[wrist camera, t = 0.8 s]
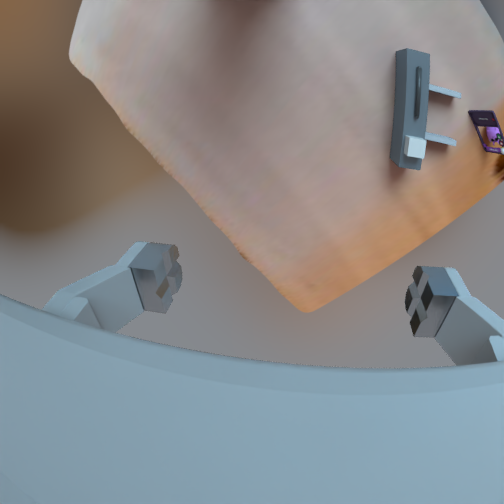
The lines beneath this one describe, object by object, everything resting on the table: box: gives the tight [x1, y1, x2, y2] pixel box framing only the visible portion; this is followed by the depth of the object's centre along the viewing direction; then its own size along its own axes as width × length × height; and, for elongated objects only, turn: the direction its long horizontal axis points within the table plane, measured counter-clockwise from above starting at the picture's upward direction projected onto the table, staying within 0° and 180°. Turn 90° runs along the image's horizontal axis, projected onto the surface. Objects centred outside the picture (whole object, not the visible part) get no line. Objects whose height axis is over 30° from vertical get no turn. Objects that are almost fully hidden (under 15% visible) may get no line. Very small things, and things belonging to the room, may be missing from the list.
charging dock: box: [390, 48, 461, 170], centre depth 37 cm, size 20×12×8 cm, turn 1°
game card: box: [468, 110, 504, 155], centre depth 35 cm, size 7×5×9 cm
